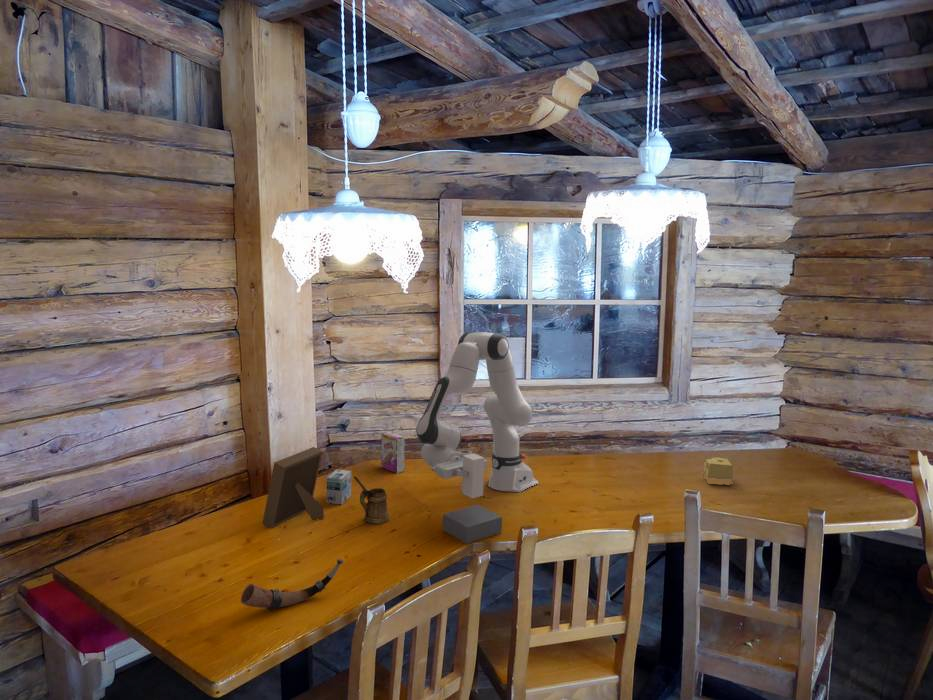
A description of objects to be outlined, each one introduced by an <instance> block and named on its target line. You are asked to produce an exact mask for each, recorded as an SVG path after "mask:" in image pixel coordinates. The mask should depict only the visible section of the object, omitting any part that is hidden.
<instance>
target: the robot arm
mask: <svg viewBox="0 0 933 700" xmlns="http://www.w3.org/2000/svg"><path fill="white" fill-rule="evenodd" d="M509 347H510V346H509V340H508V339H507V337H506V336H505V335H504V334H501V333H498V332H495V333H494V332H488V331H482V332H479V331H478V332H473V331H469V332H465V333H463V334H462V335H461V336H460V337H459V340H458V343H457V346H456V347H455V348H454V352H453V355H452V356H451V359H450V363H449V366H448V370H447V371H446V374H445V375H444V376H443V377H441V378H439V380H438V381H437V382H436V385H435V387H434V389H433V390H432V391H433V392H432V394H431V396H430V398H429V401H428V403H427V405H426V407H425V410H424V413H423V414H422V416H421V418H420V419H419V421H418V422H417V424H416V430H415V431H416V435H417V439H418V440H419V442H420V443H422V444H423V445H422V446H421V449H420V456H421V460H423V462H425V463H426V464H427V465H428V466H429V467H430V469H431V472H435V475H436V476H438V477H439V478H441V479H444V480H445V479H446V480H448V479H451V478H456V477H462V476H463V477H469V472H467V471H463V455H468V454H473V452H472V451H469V450H468V451H466V450H465V451H464V450H463V451H461V450H460V451H459V450H458V449H459V447H460V444H461V441H462V431H461V429H460V427H459V426H458V425H457V424H454V423H450V422H448V421H444V420H441V419H439V416H440V414H441V412H442V409H443V407H444V403H445V402H446V399H447V398H448V397H449V396H451V395H453V394H459V393H460V394H461V393H465V392H467V391H469V390H470V389H472V387H473V386H474V384H475V382H476V377H477V373H478V370H479V363H480V361H482V360H483V361H484V360H485V362H486V363H485V364H486V370H487V376H488V382H489V386H490V389H491V390H492V391H493V392H494V393H493V394H490V395H488V396H487V397H486V398H485V400H484V403H483V410H484V412H485V414H486V415H487V417H488V420H489V422H490V426H491V430H492V436H493V438H492V439H493V445H492V447H493V448H492V449H493V450H492V453H491V469H490V476H489V479H488V483H487V486H488V487H489V488H490V487H491V488H490V489H493V490H495V491H498V492H499V491H501V492H512V493H513V492H514V493H520V492H521V493H522V492H523V491H526V490H527V488H528V489H530V488H532V487H531V486H533V487H534V485H535V486H537V485H539V481H538V480H537V479H536V478H534V473H533V471H532V469H531V467H530V466H528V465H526V463H524V462H523V460H526V459H527V455H526V454H524V453H522V454H520V435H519V433H518V432H517V430H516V428H515V427H526V426H528V425H529V424H530V422H531V421H532V419H533V409H532V407H531V405H530V404H529V403H528V402H527V400H526V399H525V397H524V395H523V394H522V392H521V389H520V387H519V384H518V382H517V377H516V373H515V367H514V361H513V357H512V354H511V351H510V348H509ZM487 467H488V461H487V459H485V458H484V471H485V470H487ZM536 484H537V485H536ZM529 487H530V488H529ZM525 489H526V490H525Z"/></svg>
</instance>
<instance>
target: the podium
mask: <svg viewBox="0 0 933 700" xmlns="http://www.w3.org/2000/svg"><path fill="white" fill-rule="evenodd" d="M502 529H503V516H501V515H499V514H497V513H495V512H493V511H491V510H489V509H487V508H485V507H483V506H481V505H479V504H476V505H472V506H468V507H464V508H460V509H457V510H454V511H450V512H445V513H443V515H442V530H443V531H444V532H446V533H447V534H449V535H451V536H453V537H455V538H456V539H457V540H459V541H461V542H462V543H464V544H467V545H468V544H470V543H473V541H474V542H477V541H479V539H480V540H483V539H486V538H489V537H488V536H490V537H492V536H491V535H493V536H495V535H494V534H496V535H498V534H497V533H499V534H501V533H500V532H502ZM485 537H486V538H485ZM482 538H483V539H482ZM476 540H477V541H476Z"/></svg>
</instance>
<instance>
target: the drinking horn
mask: <svg viewBox="0 0 933 700" xmlns="http://www.w3.org/2000/svg"><path fill="white" fill-rule="evenodd" d="M336 562H337V563H336V564H335V566H334V567H333V568H332V569H331V571H330V572H329V573H327V574H326V576H325V577H323V578H322V579H321V580H316V581H315V583H314V584H313V585H312V586H309V587H307V588H304V589H300V590H296V591H281V590H279V588H275V589H272V588H271V589H267V588H264V587H260V586H258V585H256V584H254V583H249V584H248V585H247V586H246V587H245V588H244V590H243V592H242V594H241V597H240V602H241V605H245V606H247V607H252V608H264V609H267V610H277V609H279V608H282V607H288V606H289V607H290V606H292V605H296V604H299V603H301V602H303V601H306V600H309V599H310V598H312V597H314V596H315V595H316V594H318V593H321V592H322V591H324V590H325V588H326V586H327V585H328V584H329V583H330V582H331V581H332V580H333V578H334V576H335V575H336V574H337V572H338V570H339V568H340V565H341V564H343V563H344V560H343V559H341V558H336Z"/></svg>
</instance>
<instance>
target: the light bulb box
mask: <svg viewBox="0 0 933 700" xmlns="http://www.w3.org/2000/svg"><path fill="white" fill-rule="evenodd" d="M350 496H351V497H352V470H346V469H338V468H336V469H335V470H334V471H332V473H330V474H329V475H328V476H327V477H326V504H330V503H332V504H333V505H339V504H342V505H343V504H344V503H345V502H347V501H348V500H349V499H350V498H351V497H350ZM349 497H350V498H349ZM348 498H349V499H348ZM347 499H348V500H347ZM332 504H331V505H332Z"/></svg>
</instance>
